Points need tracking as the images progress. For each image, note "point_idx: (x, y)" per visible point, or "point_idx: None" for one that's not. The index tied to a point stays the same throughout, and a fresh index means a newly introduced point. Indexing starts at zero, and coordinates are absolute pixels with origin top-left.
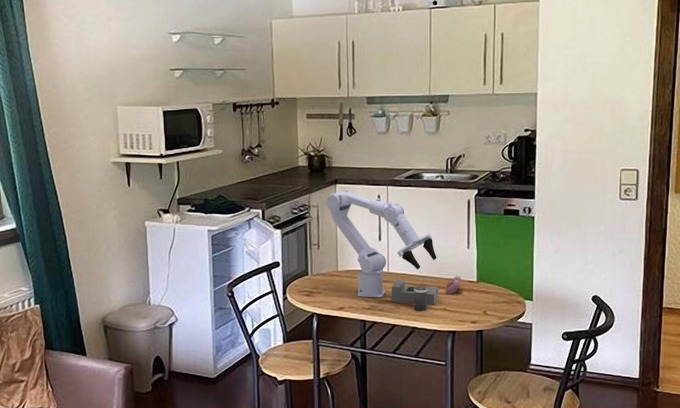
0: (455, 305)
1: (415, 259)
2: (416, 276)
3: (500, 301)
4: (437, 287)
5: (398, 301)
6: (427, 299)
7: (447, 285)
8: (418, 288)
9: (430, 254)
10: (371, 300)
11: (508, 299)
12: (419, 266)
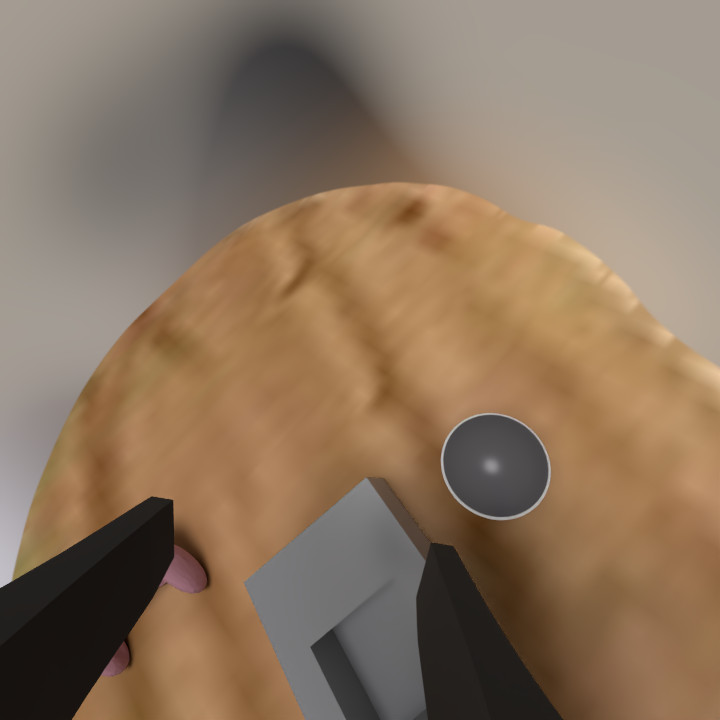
0: (313, 408)
1: (477, 665)
2: None
3: (167, 349)
4: (250, 579)
5: None
6: (399, 509)
7: (119, 665)
8: (522, 459)
9: (107, 642)
10: None
11: (135, 351)
12: (441, 552)
